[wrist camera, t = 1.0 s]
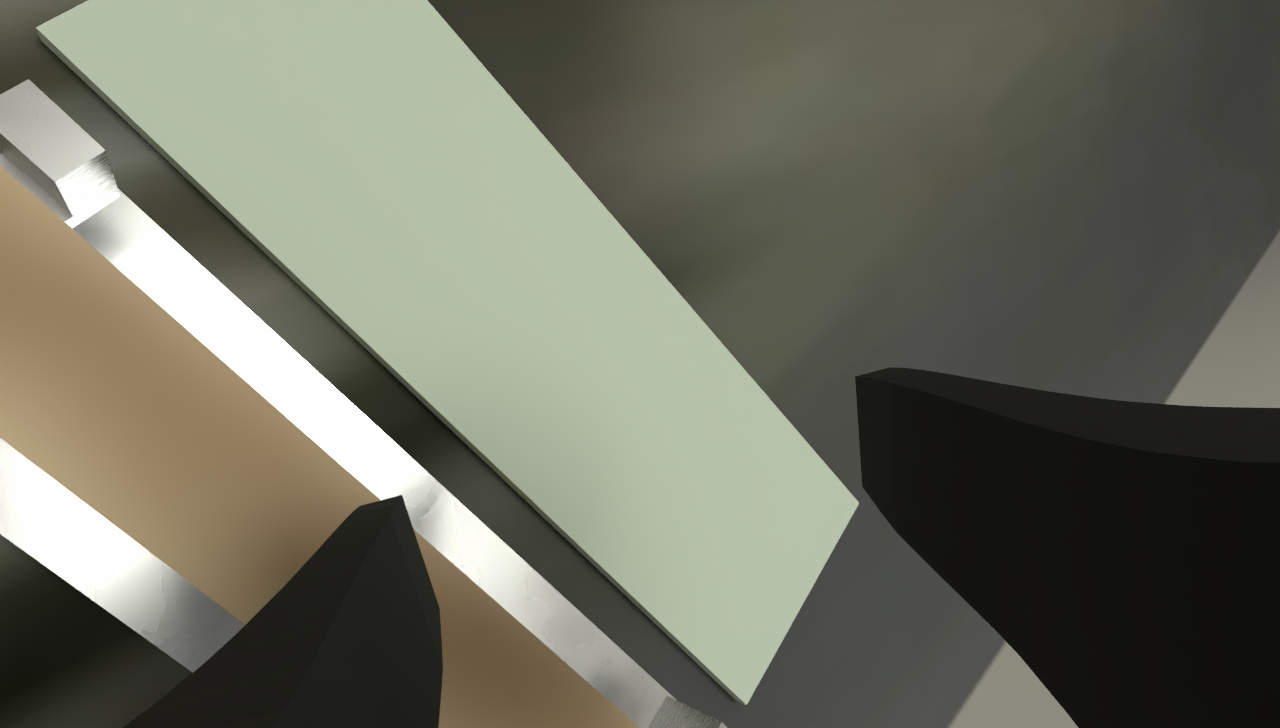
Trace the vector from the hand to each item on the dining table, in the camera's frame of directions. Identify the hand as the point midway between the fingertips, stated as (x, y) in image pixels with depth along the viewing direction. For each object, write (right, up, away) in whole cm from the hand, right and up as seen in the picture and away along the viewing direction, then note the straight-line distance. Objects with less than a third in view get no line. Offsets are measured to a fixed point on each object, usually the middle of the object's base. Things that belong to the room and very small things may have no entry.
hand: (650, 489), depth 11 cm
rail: (-7, -3, +5) cm, 9 cm away
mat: (-3, +3, +13) cm, 13 cm away
